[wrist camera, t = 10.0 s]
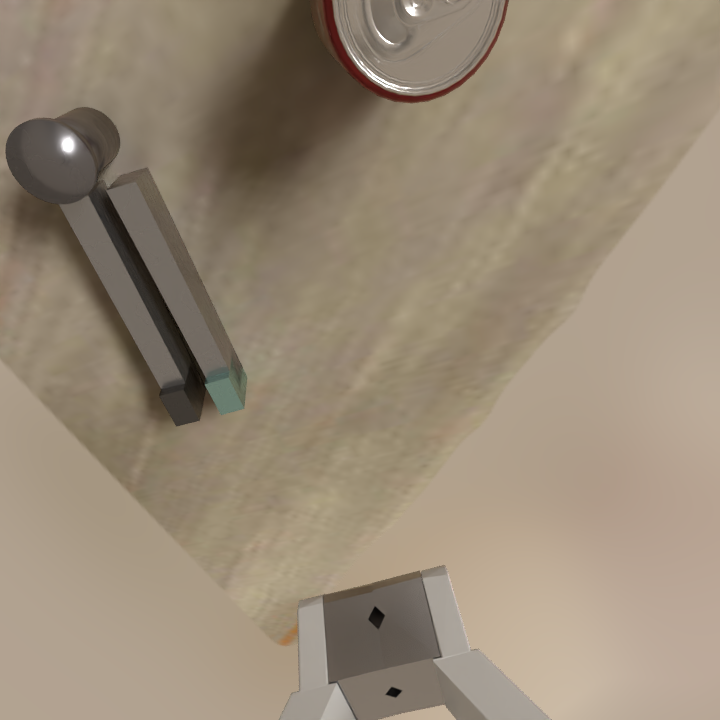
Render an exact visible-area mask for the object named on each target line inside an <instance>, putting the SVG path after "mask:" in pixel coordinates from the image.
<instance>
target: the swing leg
mask: <svg viewBox="0 0 720 720" xmlns="http://www.w3.org/2000/svg"><path fill="white" fill-rule="evenodd" d="M106 191H107V193H108V195H109V197H110V199H111V201H112V202H113V204H114V206H115V208H116V210H117V212H118V214H119V216H120V217H121V219H122V221H123V223H124V225H125V227H126V229H127V231H128V232H129V234H130V236H131V238H132V240H133V242H134V244H135V246H136V247H137V249H138V251H139V253H140V255H141V257H142V259H143V261H144V262H145V264H146V266H147V268H148V270H149V272H150V274H151V276H152V277H153V279H154V281H155V283H156V285H157V287H158V289H159V291H160V293H161V294H162V296H163V298H164V300H165V302H166V304H167V306H168V308H169V309H170V311H171V313H172V315H173V317H174V319H175V321H176V323H177V324H178V326H179V328H180V330H181V332H182V334H183V336H184V338H185V339H186V341H187V343H188V345H189V347H190V349H191V351H192V353H193V354H194V356H195V358H196V360H197V362H198V364H199V366H200V368H201V369H202V371H203V373H204V375H205V377H206V380H205V386H206V388H207V390H208V392H209V393H210V395H211V397H212V399H213V401H214V403H215V405H216V406H217V408H218V410H219V412H220V414H221V415H223V414H226V413H230V412H234V411H237V410H241V409H244V405H245V394H246V384H247V376H246V374H245V372H244V370H243V367H242V365H241V363H240V361H239V359H238V357H237V355H236V353H235V351H234V348H233V346H232V344H231V342H230V340H229V338H228V336H227V334H226V332H225V329H224V327H223V325H222V323H221V321H220V319H219V317H218V315H217V313H216V310H215V308H214V306H213V304H212V302H211V300H210V298H209V296H208V294H207V292H206V289H205V287H204V285H203V283H202V281H201V279H200V277H199V275H198V273H197V270H196V268H195V266H194V264H193V262H192V260H191V258H190V256H189V254H188V251H187V249H186V247H185V245H184V243H183V241H182V239H181V237H180V235H179V232H178V230H177V228H176V226H175V224H174V222H173V220H172V218H171V216H170V213H169V211H168V209H167V207H166V205H165V203H164V201H163V199H162V197H161V194H160V192H159V190H158V188H157V186H156V184H155V182H154V180H153V178H152V175H151V173H150V171H149V169H148V168H144V169H141V170H138V171H134V172H131V173H128V174H124V175H121V176H120V177H119V178H118V179H117V180H116V181H115V182H114V183H113V184H112V185H111V186H110V187H109V188H108V189H107V190H106Z"/></svg>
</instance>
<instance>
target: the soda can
mask: <svg viewBox="0 0 720 720" xmlns="http://www.w3.org/2000/svg"><path fill="white" fill-rule="evenodd" d="M508 2H509V0H310V7H311V15H312V19H313V22H314V26H315V29H316V32H317V34H318V36H319V38H320V40H321V42H322V44H323V45H324V47H325V48H326V49H327V51H328V52H329V53H330V55H331V56H332V57H333V58H334V59H335V60H336V61H337V62H338V63H339V64H340V65H341V66H342V67H343V68H344V69H345V70H346V71H347V72H348V73H349V74H350V75H351V76H352V77H353V78H354V79H355V80H356V81H357V82H358V83H360V84H361V85H362V86H363V87H364V88H366V89H367V90H369V91H371V92H372V93H374V94H376V95H377V96H379V97H382V98H385V99H388V100H391V101H394V102H403V103H418V102H426V101H430V100H433V99H436V98H439V97H442V96H445V95H446V94H448V93H450V92H451V91H453V90H455V89H456V88H458V87H460V86H461V85H462V84H463V83H464V82H466V81H467V80H468V79H469V78H470V77H471V76H472V75H474V74H475V72H476V71H477V70H478V69H479V67H480V66H481V65H482V64H483V62H484V61H485V60H486V59H487V57H488V55H489V54H490V52H491V50H492V48H493V47H494V45H495V43H496V41H497V39H498V36H499V34H500V31H501V28H502V26H503V23H504V21H505V16H506V11H507V7H508Z"/></svg>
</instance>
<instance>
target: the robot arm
mask: <svg viewBox="0 0 720 720" xmlns="http://www.w3.org/2000/svg"><path fill="white" fill-rule="evenodd" d="M421 576H422V577H421ZM297 617H298V660H299V691H297V692H293V693H292V694H291V696H290V698H289V700H288V702H287V704H286V706H285V708H284V710H283V712H282V714H281V716H280V719H279V720H378V719H382V718H386V717H389V716H393V715H397V714H401V713H405V712H411V711H415V710H420V709H425V708H430V707H435V706H440V705H446V707H447V708H448V710H449V711H450V712H451V713H452V715H453V716H454V717H455V718H456V720H551V719H550V718H549V717H548V716H547V715H546V714H545V713H544V712H543V711H542V710H541V709H540V708H539V707H538V706H537V705H536V704H535V703H534V702H533V701H532V700H531V699H530V698H529V697H528V696H527V695H526V694H525V693H524V692H523V691H521V689H519V687H517V685H515V684H514V683H513V682H512V681H511V680H510V679H509V678H508V677H507V676H506V675H505V674H504V673H503V672H502V671H501V670H500V669H499V668H498V667H497V666H496V665H495V664H494V663H493V662H492V661H491V660H490V659H489V658H488V657H487V656H486V655H485V654H484V653H482V652H481V651H480V649H474V650H471V649H470V645H469V642H468V638H467V635H466V631H465V628H464V625H463V621H462V618H461V614H460V611H459V607H458V604H457V601H456V597H455V594H454V590H453V587H452V584H451V581H450V577H449V573H448V571H447V568H446V566H445V565H442V566H439V567H434V568H430V569H426V570H422V571H421V574H420V571H417V572H413V573H409V574H405V575H401V576H397V577H394V578H390V579H386V580H382V581H378V582H375V583H371V584H367V585H363V586H360V587H355V588H351V589H347V590H343V591H338V592H334V593H330V594H324V595H320V596H316V597H312V598H308V599H304V600H300V601H299V605H298V610H297Z"/></svg>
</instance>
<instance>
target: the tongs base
mask: <svg viewBox="0 0 720 720" xmlns="http://www.w3.org/2000/svg"><path fill="white" fill-rule="evenodd" d="M119 148H120V137H119V133H118V131H117V129H116V127H115V125H114V124H113V122H112V121H111V120H110V119H109V118H108V117H107V116H106V115H105V114H103V113H102V112H100V111H98V110H95V109H93V108H88V107H81V108H76V109H74V110H72V111H70V112H68V113H66V114H64V115H61V116H59V117H57V118H55V119H51V118H36V119H32V120H29V121H26V122H24V123H22V124H20V125H18V126H17V127H16V128H15V129H14V130H13V131H12V132H11V134H10V135H9V137H8V140H7V143H6V159H7V163H8V166H9V168H10V170H11V172H12V174H13V176H14V177H15V179H16V180H17V181H18V182H19V184H20V185H21V186H22V187H23V188H24V189H25V190H27V191H28V192H29V193H31V194H32V195H34V196H35V197H37V198H39V199H41V200H44V201H46V202H50V203H54V204H59V206H60V208H61V209H62V211H63V213H64V215H65V217H66V218H67V220H68V222H69V224H70V226H71V227H72V229H73V231H74V233H75V235H76V236H77V238H78V240H79V242H80V244H81V245H82V247H83V249H84V251H85V253H86V254H87V256H88V258H89V260H90V262H91V263H92V265H93V267H94V269H95V271H96V272H97V274H98V276H99V278H100V280H101V281H102V283H103V285H104V287H105V289H106V290H107V292H108V294H109V296H110V298H111V299H112V301H113V303H114V305H115V307H116V308H117V310H118V312H119V314H120V316H121V317H122V319H123V321H124V323H125V325H126V326H127V328H128V330H129V332H130V334H131V335H132V337H133V339H134V341H135V343H136V344H137V346H138V348H139V350H140V352H141V353H142V355H143V357H144V359H145V361H146V362H147V364H148V366H149V368H150V370H151V371H152V373H153V375H154V377H155V379H156V380H157V382H158V384H159V386H160V388H161V392H160V395H159V396H160V398H161V400H162V402H163V404H164V405H165V407H166V409H167V411H168V412H169V414H170V416H171V418H172V419H173V421H174V423H175V425H176V426H180V425H184V424H188V423H192V422H196V421H200V416H201V411H202V406H203V401H204V396H205V391H206V387H205V385H204V383H203V381H202V379H201V377H200V375H199V373H198V371H197V369H196V367H195V365H194V363H193V361H192V359H191V357H190V355H189V353H188V351H187V349H186V347H185V344H184V342H183V340H182V338H181V336H180V334H179V332H178V330H177V328H176V326H175V324H174V322H173V320H172V318H171V316H170V314H169V312H168V310H167V308H166V306H165V304H164V302H163V300H162V298H161V296H160V294H159V292H158V290H157V287H156V285H155V283H154V281H153V279H152V277H151V275H150V273H149V271H148V269H147V267H146V265H145V263H144V261H143V259H142V257H141V255H140V253H139V251H138V249H137V247H136V246H135V244H134V242H133V240H132V238H131V236H130V234H129V232H128V231H127V229H126V227H125V225H124V223H123V221H122V219H121V217H120V216H119V214H118V212H117V210H116V208H115V206H114V204H113V202H112V201H111V199H110V197H109V195H108V193H107V191H106V190H107V189H108V188H107V186H106V184H105V182H104V180H103V181H99V182H97V178H98V172H99V171H101V170H102V169H103V168H104V167H105V166H106V165H107V164H108V163H109V162H111V161H112V160H113V159H114V158H115V157H116V155H117V154H118V152H119Z"/></svg>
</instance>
